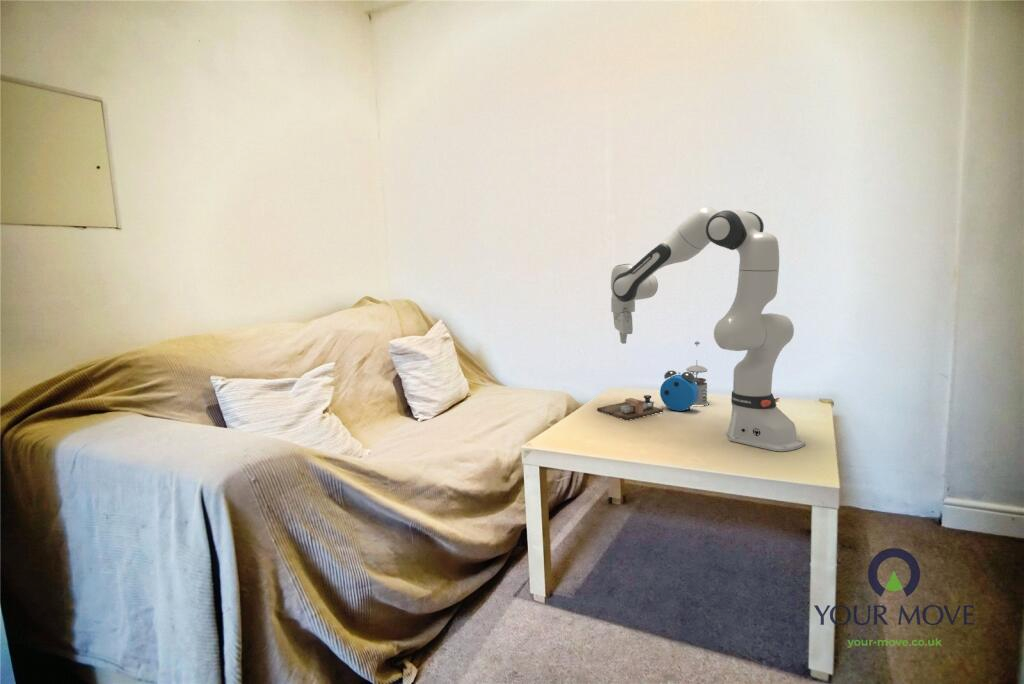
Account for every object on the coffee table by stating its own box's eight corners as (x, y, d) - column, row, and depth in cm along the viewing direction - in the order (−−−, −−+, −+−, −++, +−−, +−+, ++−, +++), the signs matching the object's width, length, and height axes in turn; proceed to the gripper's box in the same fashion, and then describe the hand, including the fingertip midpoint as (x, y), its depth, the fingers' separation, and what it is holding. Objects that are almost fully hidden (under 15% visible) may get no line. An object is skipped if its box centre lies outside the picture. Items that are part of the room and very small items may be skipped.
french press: (684, 406, 207) (685, 343, 204) (681, 398, 218) (682, 338, 215) (711, 406, 205) (712, 342, 201) (707, 399, 216) (707, 338, 213)
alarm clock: (698, 410, 201) (699, 371, 199) (693, 414, 196) (693, 374, 194) (665, 405, 209) (665, 368, 207) (659, 409, 204) (659, 371, 202)
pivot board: (662, 412, 200) (663, 409, 199) (627, 420, 191) (627, 417, 190) (632, 403, 214) (632, 400, 214) (597, 410, 205) (597, 407, 205)
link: (647, 405, 204) (647, 394, 204) (655, 407, 201) (656, 396, 200) (619, 411, 197) (619, 399, 197) (627, 413, 194) (627, 402, 193)
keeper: (644, 412, 196) (644, 401, 195) (638, 414, 194) (638, 402, 193) (631, 409, 201) (631, 397, 201) (625, 410, 200) (625, 399, 199)
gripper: (636, 309, 191) (636, 346, 193) (626, 305, 211) (627, 339, 213) (619, 309, 191) (619, 347, 193) (610, 305, 212) (611, 339, 213)
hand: (623, 343), depth 203 cm, fingers closed
